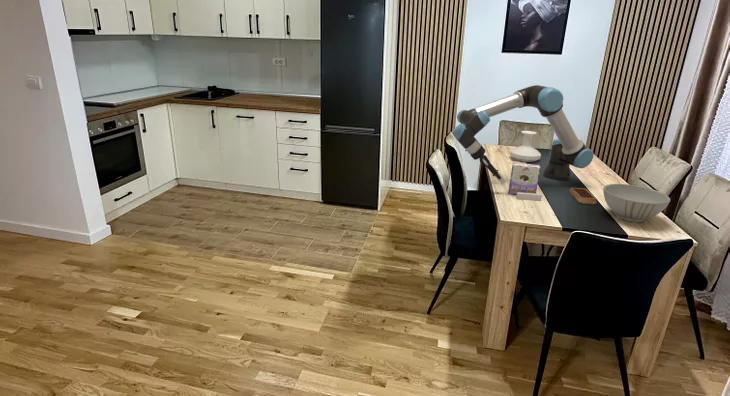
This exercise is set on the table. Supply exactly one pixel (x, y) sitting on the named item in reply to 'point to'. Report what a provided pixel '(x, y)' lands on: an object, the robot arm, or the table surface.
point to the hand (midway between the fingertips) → (503, 182)
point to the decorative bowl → (634, 201)
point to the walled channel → (529, 196)
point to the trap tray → (583, 196)
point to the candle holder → (526, 149)
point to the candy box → (524, 178)
